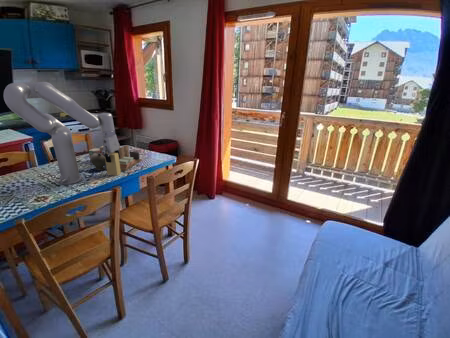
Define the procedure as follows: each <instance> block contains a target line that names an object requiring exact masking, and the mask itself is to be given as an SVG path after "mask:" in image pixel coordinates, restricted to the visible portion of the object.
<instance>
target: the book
mask: <svg viewBox="0 0 450 338" xmlns="http://www.w3.org/2000/svg"><path fill="white" fill-rule="evenodd" d="M107 154H108V153H107ZM110 157H111V163H110V162H106V158H105V162H106V164H105V169H106V172H107V173H106V174H107V175H108V176H115V177H116V176H119V175H120V174H121V173H122V172H121V171H122V170H120V163H119V156H118V153H110Z"/></svg>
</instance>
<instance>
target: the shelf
mask: <svg viewBox="0 0 450 338" xmlns="http://www.w3.org/2000/svg"><path fill="white" fill-rule="evenodd" d="M119 150H120V151H119V154H120V157H119V163H120V170H121V171H123V172H124V171H128V170H130V169H131V168H133V167H134V166H135V165H137V164H139V163H140V162H142V161H143V159H142V158H140V151H129V145H128V144H126V145H124V146H122V147H120V149H119ZM113 153H114V152H113Z"/></svg>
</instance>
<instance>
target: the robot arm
mask: <svg viewBox="0 0 450 338" xmlns="http://www.w3.org/2000/svg"><path fill="white" fill-rule="evenodd" d="M27 99H29V100H30V99H43V100H44V101H45V102H47V103H49V104H51V105H52V106H54V107H55V108H57V109H58V110H60V111H62V112H63V113H65V114H66V115H68V116H69V117H71V118H73V119H74V120H76V122H79V123H80V124H82V125H84V126H85V127H87V128H89V129H96V128H98V127H100V131H101V136H102V137H101V138H102V146H103V148H104V149H103V150H102V153H103V155H104V156H105V158H106V162H110V163H111V157H110V153H113V152H114V153H118V156H119V157H120V154H119V151H120V150H119V148H121V144H120V143H119V139H118V137H117V134H116V129H115V125H114V119H113V114H112V113H110V112H102V113H92V112H89V111H88V110H86V109H84V108H83V107H82V106H81V105H79V103H78V102H77V101H75V100H74V99H73V98H72V97H70V96H68V95H67V94H65V93H63V91H61V90H59V89H57V88H56V87H55V86H54V85H53V84H52V83H50V82H48V81H34V82H33V81H31V82H27V81H25V82H24V81H23V82H22V81H21V82H11V83H9V84H8V85H6V86H5V89H4V90H3V100H4V102H5V104H6V106H7V108H9V110H11V112H13V113H14V114H15V115H17V116H18V117H19V118H21V119H23V121H25V122H26V123H28V125H30V126H31V127H33V128H34V129H36V130H37V131H39V132H41V133H47V134H48V135H49V136H51V142H52V146H53V149H54V153H55V158H56V160H57V165H58V169H59V173H60V175H59V178H58V179H56V180H55V181H54V183H56V184H61V185H72V184H73V185H74V184H77V183H80V182H82V181H83V179H84V176H83V175H80V170H79V166H78V161H77V156H76V152H75V147H74V143H73V133H72V131H71V129H70V128H69V127H67V126H66V125H65V124H64V123H63V122H61V121H60V120H58V119H57V118H56V117H55V116H53V115H52V114H50V113H46V112H42V111H40V109H38V108H37V107H35V106H34V105H33V104H31V103H30V102H29V101H28V100H27ZM119 146H120V147H119ZM107 153H108V154H107Z"/></svg>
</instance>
